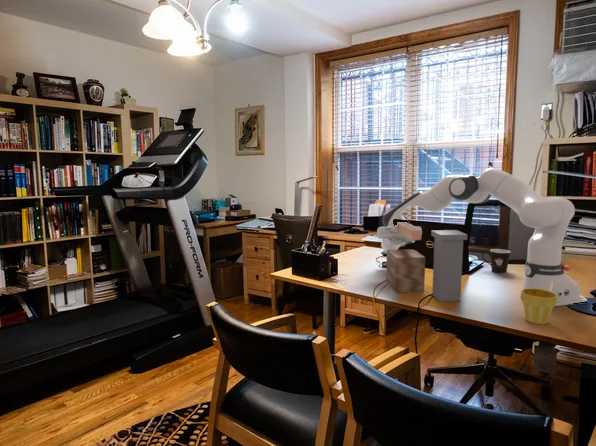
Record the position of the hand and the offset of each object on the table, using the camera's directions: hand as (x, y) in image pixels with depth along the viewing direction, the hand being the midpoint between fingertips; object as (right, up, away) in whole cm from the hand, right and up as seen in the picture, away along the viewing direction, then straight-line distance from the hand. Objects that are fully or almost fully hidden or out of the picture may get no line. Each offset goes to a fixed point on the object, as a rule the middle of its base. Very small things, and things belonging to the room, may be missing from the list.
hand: (403, 226), depth 186 cm
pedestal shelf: (+11, -28, -22) cm, 37 cm away
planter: (0, -4, -7) cm, 8 cm away
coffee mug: (+49, -22, +16) cm, 56 cm away
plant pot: (+33, -31, -46) cm, 65 cm away
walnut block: (-1, -26, -7) cm, 27 cm away
